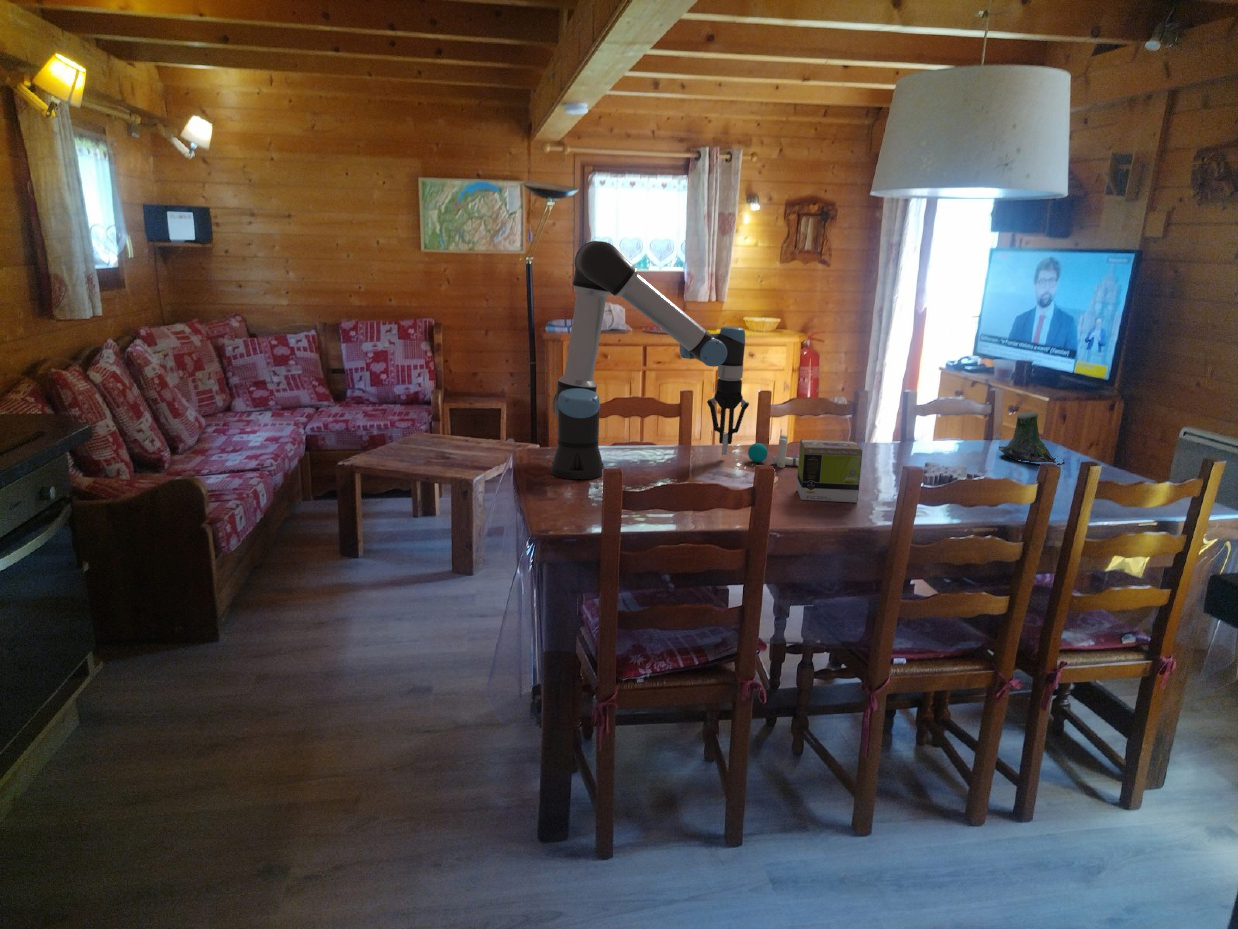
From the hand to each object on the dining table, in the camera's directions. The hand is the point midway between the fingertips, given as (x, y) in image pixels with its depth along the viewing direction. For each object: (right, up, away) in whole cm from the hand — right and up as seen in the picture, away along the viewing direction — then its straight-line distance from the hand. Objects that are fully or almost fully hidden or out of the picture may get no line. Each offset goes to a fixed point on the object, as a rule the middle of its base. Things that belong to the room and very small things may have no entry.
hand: (724, 453), depth 252 cm
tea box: (+23, -12, -34) cm, 43 cm away
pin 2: (+16, -4, -6) cm, 18 cm away
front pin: (+14, -2, -3) cm, 15 cm away
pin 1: (+17, -3, -1) cm, 18 cm away
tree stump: (+103, -2, +15) cm, 104 cm away
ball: (+10, 0, -2) cm, 10 cm away
